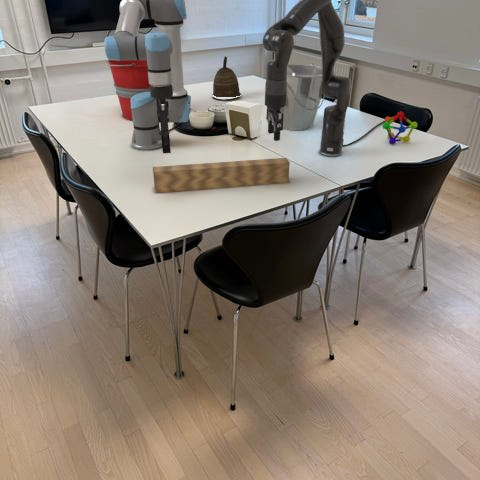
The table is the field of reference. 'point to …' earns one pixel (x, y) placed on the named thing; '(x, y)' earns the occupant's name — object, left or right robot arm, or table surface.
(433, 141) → the table surface
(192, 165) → the beam
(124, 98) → the bucket
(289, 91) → the bucket
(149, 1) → the left robot arm
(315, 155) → the table surface
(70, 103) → the table surface
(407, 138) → the educational toy
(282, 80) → the right robot arm
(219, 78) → the bell
